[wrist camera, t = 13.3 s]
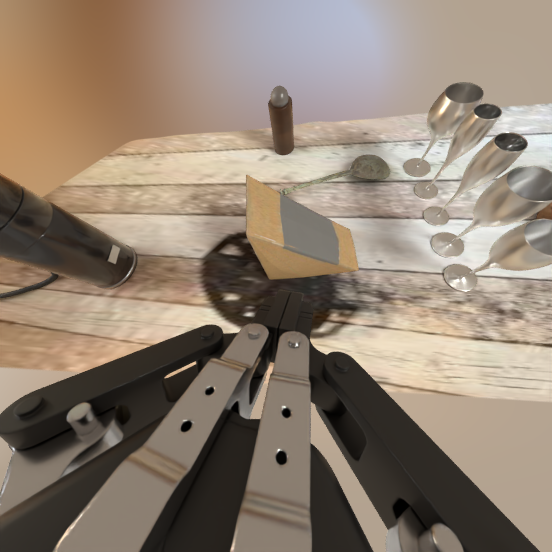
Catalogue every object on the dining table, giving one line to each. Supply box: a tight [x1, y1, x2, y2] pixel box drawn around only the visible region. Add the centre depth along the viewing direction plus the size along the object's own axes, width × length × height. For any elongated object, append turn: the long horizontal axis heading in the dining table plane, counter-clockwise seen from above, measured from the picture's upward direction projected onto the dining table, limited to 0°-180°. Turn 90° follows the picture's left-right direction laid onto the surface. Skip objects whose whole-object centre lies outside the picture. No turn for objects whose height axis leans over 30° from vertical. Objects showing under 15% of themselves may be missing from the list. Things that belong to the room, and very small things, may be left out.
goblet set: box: [404, 82, 552, 291], centre depth 28 cm, size 28×6×13 cm, turn 2°
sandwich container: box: [246, 175, 359, 279], centre depth 28 cm, size 9×15×15 cm, turn 93°
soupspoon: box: [280, 155, 390, 195], centre depth 38 cm, size 22×3×7 cm
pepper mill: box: [268, 86, 294, 155], centre depth 39 cm, size 4×4×11 cm
